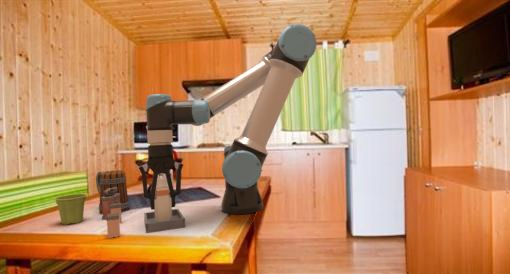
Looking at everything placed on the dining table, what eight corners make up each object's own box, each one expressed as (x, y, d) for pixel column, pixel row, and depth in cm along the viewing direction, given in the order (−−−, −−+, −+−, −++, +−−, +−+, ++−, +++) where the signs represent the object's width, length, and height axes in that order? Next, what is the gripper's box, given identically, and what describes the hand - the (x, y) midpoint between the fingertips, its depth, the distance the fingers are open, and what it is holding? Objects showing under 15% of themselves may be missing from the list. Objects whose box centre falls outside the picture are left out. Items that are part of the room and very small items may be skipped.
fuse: (169, 217, 99) (167, 186, 99) (170, 219, 96) (169, 187, 96) (156, 218, 98) (155, 187, 98) (157, 221, 95) (156, 189, 94)
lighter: (108, 219, 104) (107, 190, 104) (99, 219, 105) (98, 190, 105) (123, 213, 112) (121, 186, 112) (114, 213, 113) (113, 186, 113)
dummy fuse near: (120, 233, 89) (119, 212, 89) (120, 236, 86) (119, 215, 86) (108, 235, 88) (107, 214, 88) (107, 238, 85) (106, 217, 85)
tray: (178, 216, 106) (178, 208, 105) (185, 227, 93) (184, 218, 92) (144, 220, 101) (144, 212, 101) (146, 232, 88) (145, 223, 88)
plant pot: (48, 225, 101) (47, 198, 100) (74, 217, 109) (73, 193, 109) (69, 227, 97) (68, 199, 97) (94, 219, 106) (93, 194, 106)
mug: (135, 209, 119) (133, 170, 119) (109, 215, 110) (107, 173, 110) (111, 205, 127) (109, 169, 127) (85, 211, 118) (84, 172, 118)
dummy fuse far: (122, 220, 103) (121, 202, 103) (121, 223, 100) (120, 204, 100) (111, 222, 102) (110, 203, 101) (110, 224, 99) (110, 205, 98)
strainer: (156, 207, 120) (155, 169, 119) (155, 204, 126) (153, 167, 126) (175, 205, 122) (173, 167, 122) (172, 202, 129) (171, 166, 129)
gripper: (185, 142, 103) (188, 212, 104) (131, 145, 97) (134, 219, 97) (189, 143, 96) (192, 217, 97) (131, 145, 90) (135, 225, 90)
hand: (163, 218), depth 97 cm, fingers closed on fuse, 4 cm apart
